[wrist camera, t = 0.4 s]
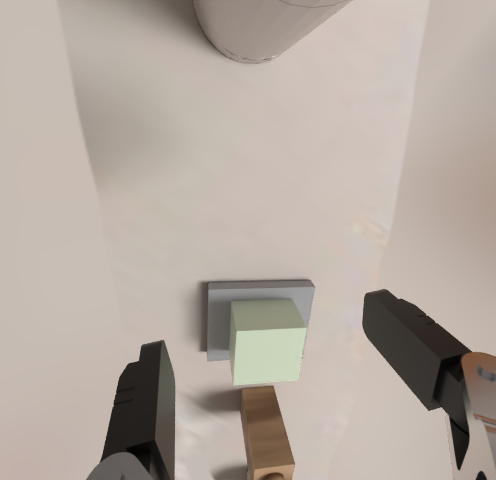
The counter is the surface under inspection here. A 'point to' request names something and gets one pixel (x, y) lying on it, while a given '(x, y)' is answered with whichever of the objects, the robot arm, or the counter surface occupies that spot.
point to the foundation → (259, 328)
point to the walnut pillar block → (265, 435)
